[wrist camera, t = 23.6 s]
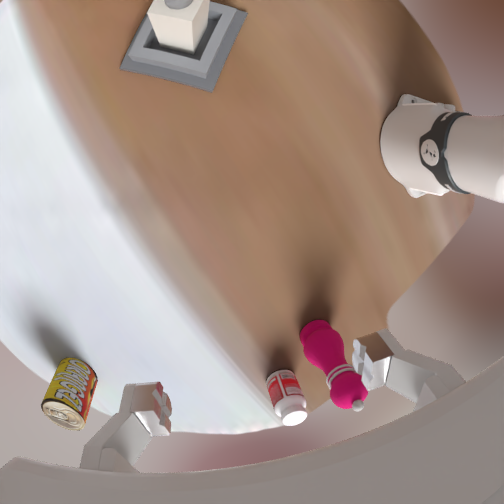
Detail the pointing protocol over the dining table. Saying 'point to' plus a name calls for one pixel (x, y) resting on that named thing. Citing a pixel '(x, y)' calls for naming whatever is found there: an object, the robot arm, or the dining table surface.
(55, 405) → the yellow tin can
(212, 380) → the dining table surface
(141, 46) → the socket dock
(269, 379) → the pill bottle
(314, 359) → the pepper mill
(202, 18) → the spigot peg
